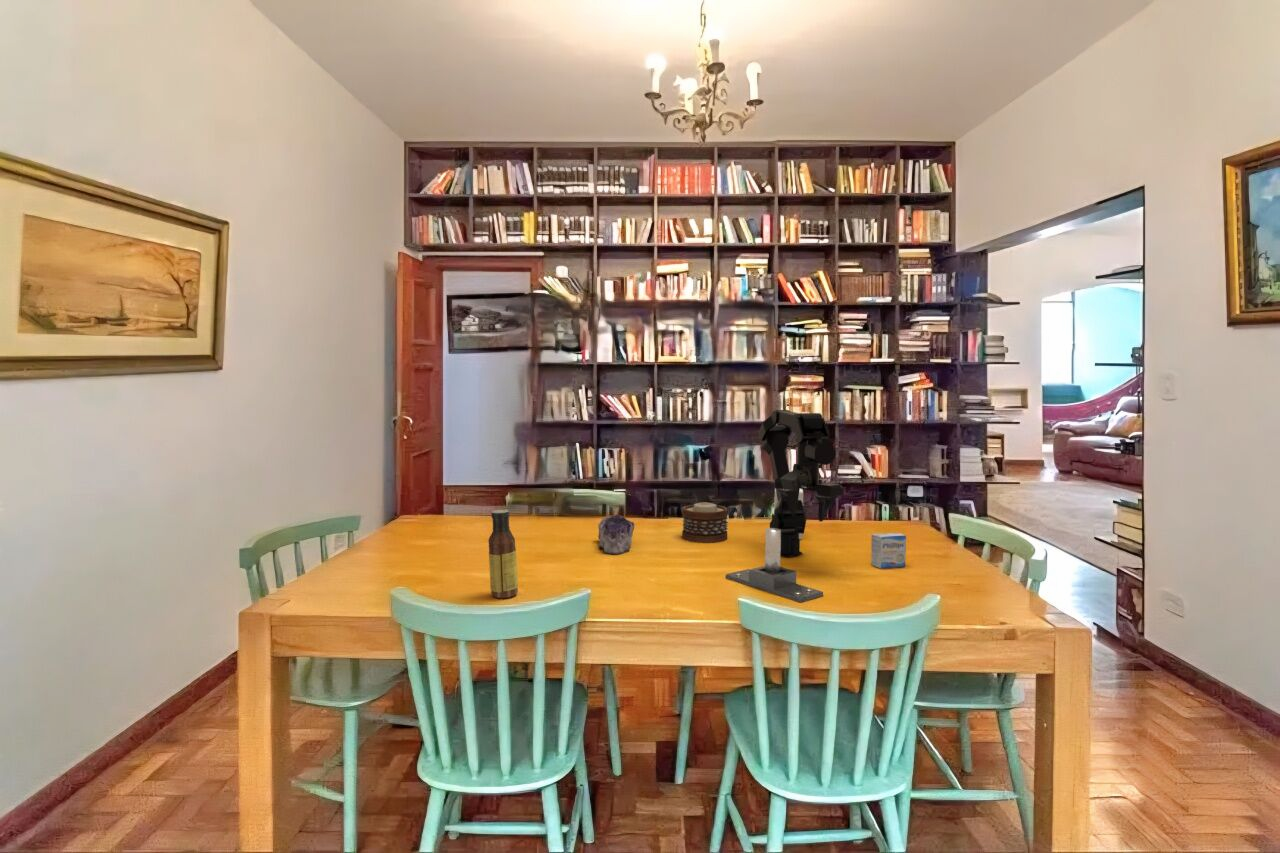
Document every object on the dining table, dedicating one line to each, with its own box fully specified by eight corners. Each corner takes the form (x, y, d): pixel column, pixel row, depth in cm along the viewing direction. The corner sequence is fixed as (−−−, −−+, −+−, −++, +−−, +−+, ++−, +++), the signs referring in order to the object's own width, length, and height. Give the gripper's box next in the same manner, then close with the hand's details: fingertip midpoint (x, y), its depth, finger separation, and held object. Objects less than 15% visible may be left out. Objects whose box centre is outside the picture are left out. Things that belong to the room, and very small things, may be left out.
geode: (639, 555, 201) (635, 521, 200) (599, 561, 200) (594, 527, 199) (636, 536, 221) (631, 505, 220) (599, 541, 220) (594, 510, 219)
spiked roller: (732, 501, 226) (724, 509, 212) (732, 534, 227) (723, 545, 213) (687, 498, 231) (676, 506, 216) (687, 531, 232) (676, 541, 217)
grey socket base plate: (725, 578, 178) (725, 562, 178) (747, 572, 183) (748, 557, 182) (800, 602, 159) (800, 585, 159) (823, 595, 164) (823, 579, 163)
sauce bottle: (519, 591, 167) (518, 508, 166) (515, 599, 161) (514, 513, 159) (491, 591, 167) (490, 508, 165) (486, 599, 161) (485, 513, 159)
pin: (762, 584, 172) (763, 528, 171) (776, 584, 173) (777, 527, 172) (767, 589, 169) (768, 531, 168) (781, 588, 169) (782, 531, 168)
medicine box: (880, 569, 186) (881, 537, 186) (870, 565, 191) (871, 533, 190) (905, 567, 189) (906, 535, 188) (895, 562, 193) (896, 531, 192)
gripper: (760, 459, 190) (760, 516, 191) (816, 466, 175) (815, 528, 176) (788, 456, 196) (787, 511, 197) (844, 462, 181) (843, 522, 183)
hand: (806, 518), depth 188 cm, fingers open, 9 cm apart
